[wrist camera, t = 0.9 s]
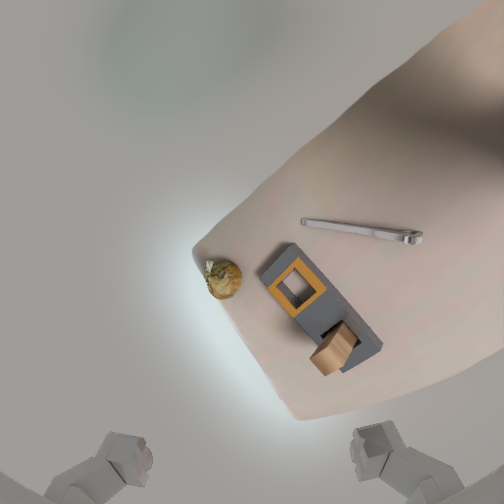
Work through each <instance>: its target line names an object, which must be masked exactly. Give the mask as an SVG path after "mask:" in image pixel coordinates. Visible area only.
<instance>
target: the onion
mask: <svg viewBox="0 0 504 504" xmlns="http://www.w3.org/2000/svg"><path fill="white" fill-rule="evenodd" d="M204 278H205V279H206V282H207V283H208V284H207V285H208V288H209V291H210V293H211V294H212V295H213V296H214V297H215V298H217V299H221V300H222V299H228V298H231V297H232V296H233V295H235V293H236V292H237V291H238V289H239V287H240V284H241V280H242V274H241V271H240V269H239V268H238V266H237V265H235V264H234V263H232V262H229V261H221V262H216V263H215V264H214V265H213V261H212V260H207V261H206V269H205V271H204Z"/></svg>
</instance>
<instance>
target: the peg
mask: <svg viewBox="0 0 504 504" xmlns="http://www.w3.org/2000/svg"><path fill="white" fill-rule="evenodd" d="M357 339H358V337H357V336H356V335H355V334H354V333H353V331H352V330H351V329H350V328H349V327H348V326H347V324H346V323H345V322H344V321H342V322H341V323H339V324H338V325H337V326H335V327H334V328H332V329H331V330H330V331H329V333H328V334H327V335H326V337H325V338H324V340H323V341H322V342H321V344H320V345H319V347H318V348H317V349H316V351H315V352H314V353H313V355H312V356H311V357H310V360H311V361H312V362H313V364H314V365H315V366H316V367H317V368H318V369H319V370H320V371H321V372H322V374H323V375H324V376H327V375H329V374H330V373H332V372H334V371H336V370H337V369H339V368H341V367H343V366H344V364H345V362H346V360H347V358H348V357H349V355H350V353H351V351H352V349H353V347H354V345H355V343H356V341H357Z"/></svg>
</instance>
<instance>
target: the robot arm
mask: <svg viewBox="0 0 504 504" xmlns="http://www.w3.org/2000/svg"><path fill="white" fill-rule="evenodd" d="M353 437H354V439H353V440H352V441H351V444H350V454H351V459H352V462H354V463H355V464H357V465H356V468H355V471H356V474H357V478H358V481H359V482H360V481H365V480H369V479H373V478H377V477H379V478H380V479H381V480H383V481H384V482H386V483H387V484H388V485H390V486H391V487H392V488H394V489H395V490H397V491H398V492H399V493H401V494H402V495H404V496H405V497H407V498H408V500H407V501H406V503H405V504H504V463H503V464H502V465H501V466H499V467H498V468H496V469H495V470H493V471H492V472H490V473H489V474H488V475H486V476H484V477H483V478H481V479H480V480H478V481H476V482H475V483H473V484H471V485H470V486H468V487H466V488H465V487H464V485H463V484H462V482H461V480H460V478H459V477H458V475H457V473H456V471H455V470H454V468H453V467H452V466H450V465H447V464H445V463H443V462H441V461H439V460H437V459H435V458H432V457H430V456H428V455H426V454H424V453H422V452H420V451H418V450H416V449H414V448H412V447H406V445H405V443H404V442H403V440H402V438H401V436H400V434H399V432H398V430H397V428H396V427H395V425H394V423H393V421H391V420H389V421H385V422H382V423H377V424H373V425H369V426H365V427H361V428H357V429H355V430H354V431H353ZM145 445H146V441H145V439H144V438H142V437H136V436H130V435H125V434H121V433H115V432H109V433H108V434H107V435H106V438H105V439H104V441H103V443H102V445H101V446H100V448H99V450H98V452H97V454H96V456H95V457H91V458H89V459H87V460H85V461H84V462H82V463H80V464H78V465H76V466H74V467H73V468H71V469H69V470H67V471H65V472H63V473H61V474H59V475H57V476H55V477H54V479H53V480H52V482H51V484H50V485H49V487H48V489H47V491H46V493H45V495H44V496H41V495H40V494H38V493H36V492H34V491H33V490H31V489H29V488H27V487H25V486H24V485H22V484H20V483H19V482H17V481H15V480H14V479H12V478H11V477H9V476H8V475H6V474H4V473H3V472H2V471H0V504H104V503H106V502H107V501H108V500H109V499H110V498H112V497H113V496H114V495H116V494H117V493H118V492H119V491H120V490H122V489H123V488H124V487H125V486H126V484H128V485H133V486H138V487H145V485H146V482H147V479H148V474H147V471H148V470H149V469H151V467H152V464H153V456H152V452H151V450H150V449H149V448H148V447H146V446H145Z"/></svg>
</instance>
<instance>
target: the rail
mask: <svg viewBox="0 0 504 504" xmlns="http://www.w3.org/2000/svg"><path fill="white" fill-rule="evenodd" d="M295 269H297V270H298V271H299V272H300V274H301V275H302V276H303V277H304V278H305V279H306V280H307V281H308V283H309V284H310V285H311V286H312V287H313V288H314V289H315V290H316V292H315V293H314V294H313V295H312V296H311V297H310V298H309V299H307V300H306V301H305V302H304V303H303V304H302V303H301V302H300V301H299V300H298V298H297V297H296V296H295V295H294V294H293V293H292V292H291V291H290V289H289V288H288V287H287V286H286V285H285V284H284V283H283V281H284V280H285V279H286V278H287V277H288V276H289V275H290V274H291V273H292V272H293V271H294V270H295ZM260 279H261V281H262V282H263V283H264V284H265V285H266V286H267V289H268V290H269V291H270V292H271V294H272V295H273V296H274V297H275V298H276V299H277V301H278V302H279V303H280V304H281V305H282V306H283V307H284V309H285V310H286V311H287V312H288V313H289V314H290V315H291V317H292V318H295V320H296V321H297V322H298V323H299V324H300V325H301V326H302V328H303V329H304V330H305V331H306V332H307V333H308V334H309V335H310V337H311V338H312V339H313V340H314V341H315V342H316V343H317V345H318V346H319V345H320V344H321V342H322V341H323V340H324V338H325V337H326V335H327V334H328V333H327V330H328V329H330V328H331V327H332V326H334V325H335V324H336V323H338V322H339V321H340V320H343V321H344V322H345V323H346V324H347V326H348V327H349V328H350V329H351V330H352V331H353V333H354V334H355V335H356V336H357V337H358V338H359V339H360V340H358V341H357V342H356V343H355V345H354V347H353V349H352V351H351V353H350V355H349V357H348V358H347V360H346V362H345V364H344V366H343V367H341V368H339V369H340V370H341V372H342V373H344V372H346V371H348V370H350V369H351V368H353V367H355V366H356V365H358V364H360V363H361V362H363V361H365V360H366V359H368V358H370V357H371V356H373V355H375V354H376V353H378V352H379V351H381V348H382V345H383V343H382V341H381V340H380V339H379V338H378V337H377V336H376V334H375V333H374V332H373V331H372V330H371V328H370V327H369V326H368V325H367V324H366V323H365V321H364V320H363V319H362V318H361V317H360V315H359V314H358V313H357V312H356V311H355V310H354V309H353V307H352V306H351V305H350V304H349V303H348V302H347V300H346V299H345V298H344V297H343V296H342V295H341V294H340V292H339V291H338V290H337V289H336V288H335V287H334V286H333V285H332V283H331V282H330V281H329V280H328V279H327V278H326V277H325V275H324V274H323V273H322V272H321V271H320V270H319V269H318V268H317V267H316V265H315V264H314V263H313V262H312V261H311V260H310V259H309V258H308V257H307V256H306V254H305V253H304V252H303V251H302V250H301V249H300V248H299V247H298V246H297V245H296V244H293V245H291V246H289V247H288V248H287V249H286V250H285V251H284V252H283V253H282V254H281V255H280V257H279V258H278V259H277V260H276V261H275V262H274V263H273V264H272V265H271V266H270V267H269V268H268V269H267V271H266V272H265V273H264V274H263V275H262V276H261V277H260Z"/></svg>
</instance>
